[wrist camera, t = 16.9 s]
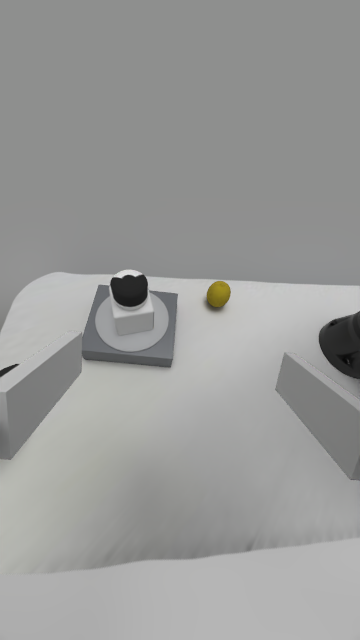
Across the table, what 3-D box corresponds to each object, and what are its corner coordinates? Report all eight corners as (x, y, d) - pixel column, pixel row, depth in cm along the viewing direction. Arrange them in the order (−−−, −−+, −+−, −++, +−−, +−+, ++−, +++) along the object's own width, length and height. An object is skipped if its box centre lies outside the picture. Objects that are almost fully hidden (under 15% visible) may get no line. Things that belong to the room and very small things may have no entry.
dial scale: (175, 303, 56) (178, 289, 52) (170, 367, 48) (173, 357, 43) (103, 295, 55) (99, 280, 50) (84, 359, 47) (77, 348, 42)
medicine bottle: (153, 329, 46) (155, 294, 35) (118, 336, 44) (108, 301, 34) (146, 301, 49) (146, 262, 39) (113, 306, 47) (103, 266, 37)
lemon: (216, 292, 60) (225, 271, 53) (228, 308, 58) (239, 288, 51) (199, 299, 58) (206, 279, 51) (211, 316, 56) (220, 297, 49)
